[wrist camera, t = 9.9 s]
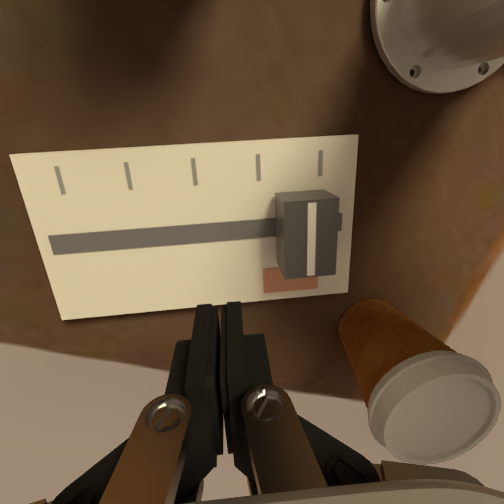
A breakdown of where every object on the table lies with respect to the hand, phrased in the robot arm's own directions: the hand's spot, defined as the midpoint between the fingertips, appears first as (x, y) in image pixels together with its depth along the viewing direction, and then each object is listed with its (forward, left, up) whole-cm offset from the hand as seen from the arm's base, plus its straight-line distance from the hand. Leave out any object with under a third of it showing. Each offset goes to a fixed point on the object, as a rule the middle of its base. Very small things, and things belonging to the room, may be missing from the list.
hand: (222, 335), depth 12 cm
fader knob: (-7, 0, -15) cm, 16 cm away
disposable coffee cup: (-14, +12, -17) cm, 25 cm away
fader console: (+2, 0, -17) cm, 17 cm away
